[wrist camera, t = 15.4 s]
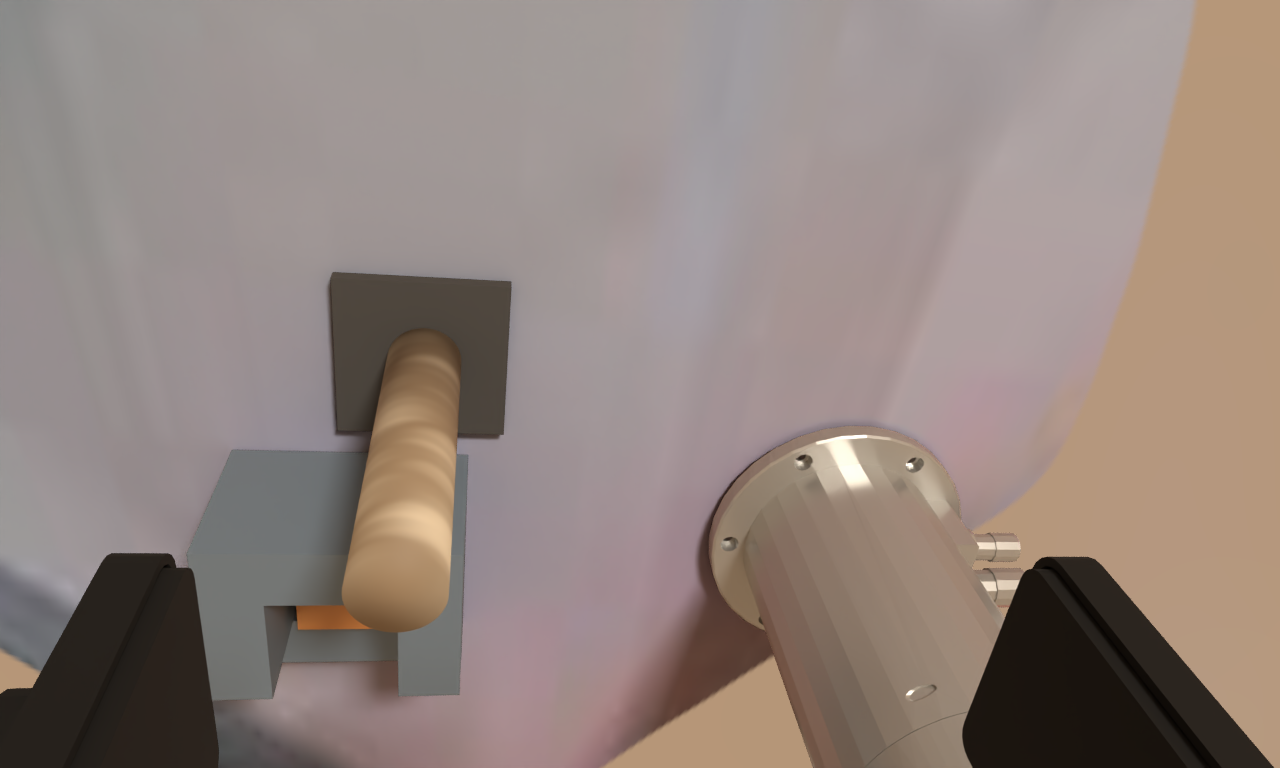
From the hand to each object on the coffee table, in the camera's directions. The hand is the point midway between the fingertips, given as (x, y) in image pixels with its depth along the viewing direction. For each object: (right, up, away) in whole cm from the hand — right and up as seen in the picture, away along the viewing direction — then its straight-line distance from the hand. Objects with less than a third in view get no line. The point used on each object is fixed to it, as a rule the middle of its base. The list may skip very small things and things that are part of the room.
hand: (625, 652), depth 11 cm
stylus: (-9, +4, +28) cm, 30 cm away
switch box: (-13, -4, +33) cm, 36 cm away
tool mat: (-9, +4, +29) cm, 31 cm away
